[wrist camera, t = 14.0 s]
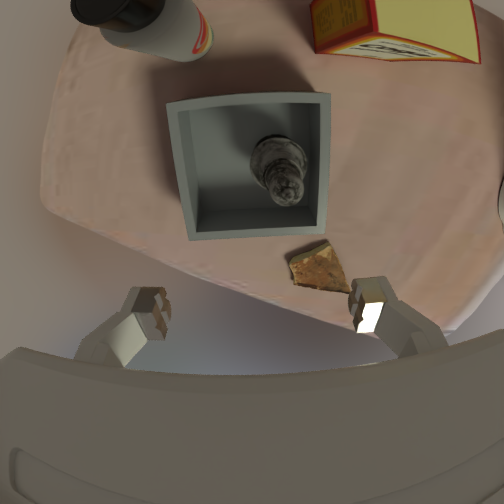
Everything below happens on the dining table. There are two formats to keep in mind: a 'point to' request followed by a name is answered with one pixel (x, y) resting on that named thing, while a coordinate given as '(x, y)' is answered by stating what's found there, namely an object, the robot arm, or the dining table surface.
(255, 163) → the stone chess piece
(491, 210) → the dining table surface
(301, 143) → the box
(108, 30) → the lotion bottle
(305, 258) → the shard
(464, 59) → the baking soda box
